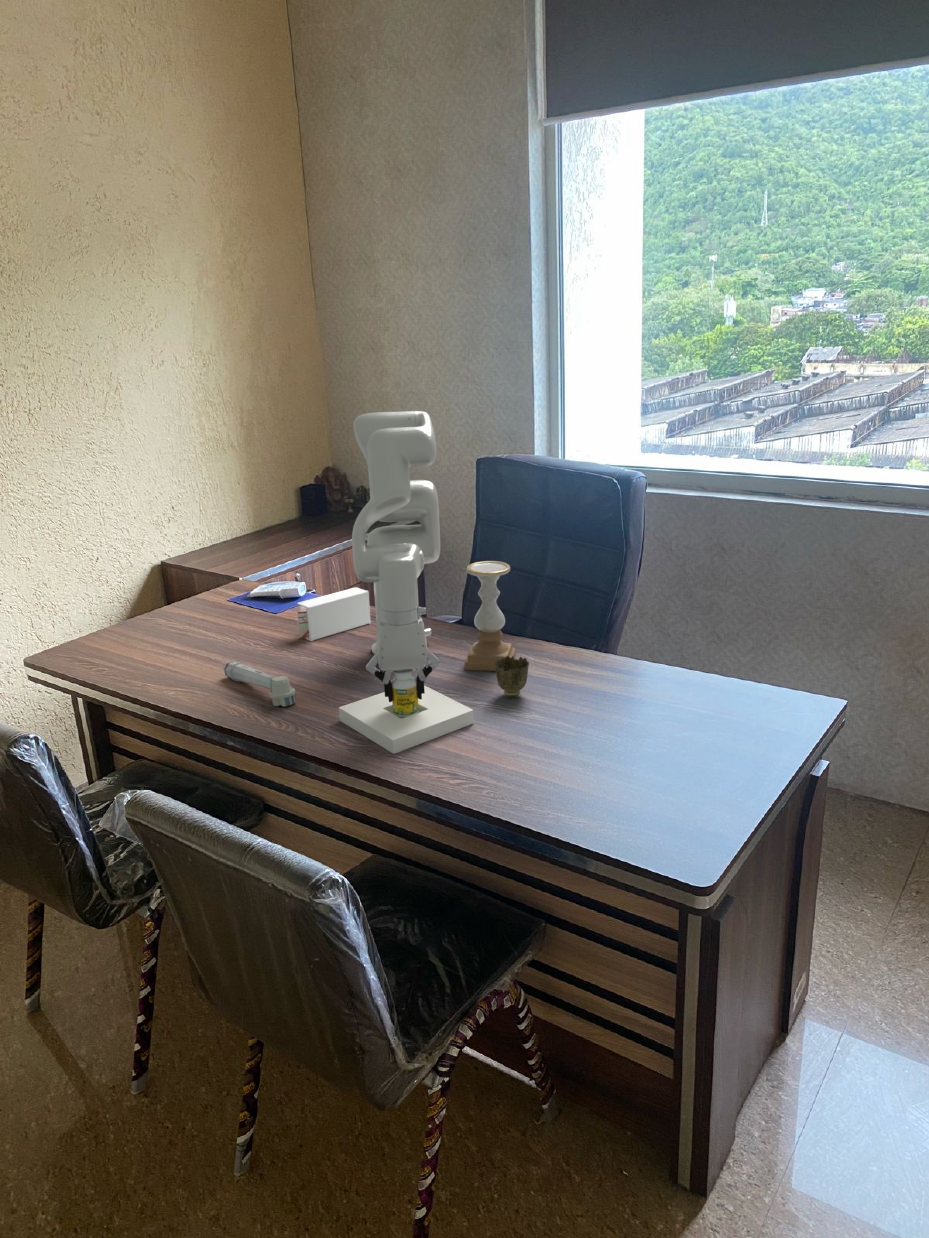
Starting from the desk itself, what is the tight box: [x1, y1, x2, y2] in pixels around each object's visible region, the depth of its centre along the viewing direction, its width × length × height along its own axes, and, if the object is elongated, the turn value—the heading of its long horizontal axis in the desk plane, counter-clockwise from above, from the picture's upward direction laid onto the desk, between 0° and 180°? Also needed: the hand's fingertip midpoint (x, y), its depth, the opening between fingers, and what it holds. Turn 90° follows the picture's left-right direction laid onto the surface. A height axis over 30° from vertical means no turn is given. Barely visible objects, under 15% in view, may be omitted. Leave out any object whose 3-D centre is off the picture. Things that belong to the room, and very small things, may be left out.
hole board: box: [338, 684, 475, 755], centre depth 189 cm, size 20×20×3 cm
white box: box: [297, 586, 372, 642], centre depth 242 cm, size 20×6×9 cm, turn 131°
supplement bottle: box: [391, 669, 419, 719], centre depth 187 cm, size 5×5×10 cm
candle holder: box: [464, 560, 517, 672], centre depth 215 cm, size 11×11×24 cm
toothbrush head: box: [223, 661, 296, 707], centre depth 207 cm, size 5×7×25 cm
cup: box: [494, 656, 530, 699], centre depth 199 cm, size 8×7×8 cm
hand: (404, 697), depth 188 cm, fingers closed on supplement bottle, 5 cm apart
